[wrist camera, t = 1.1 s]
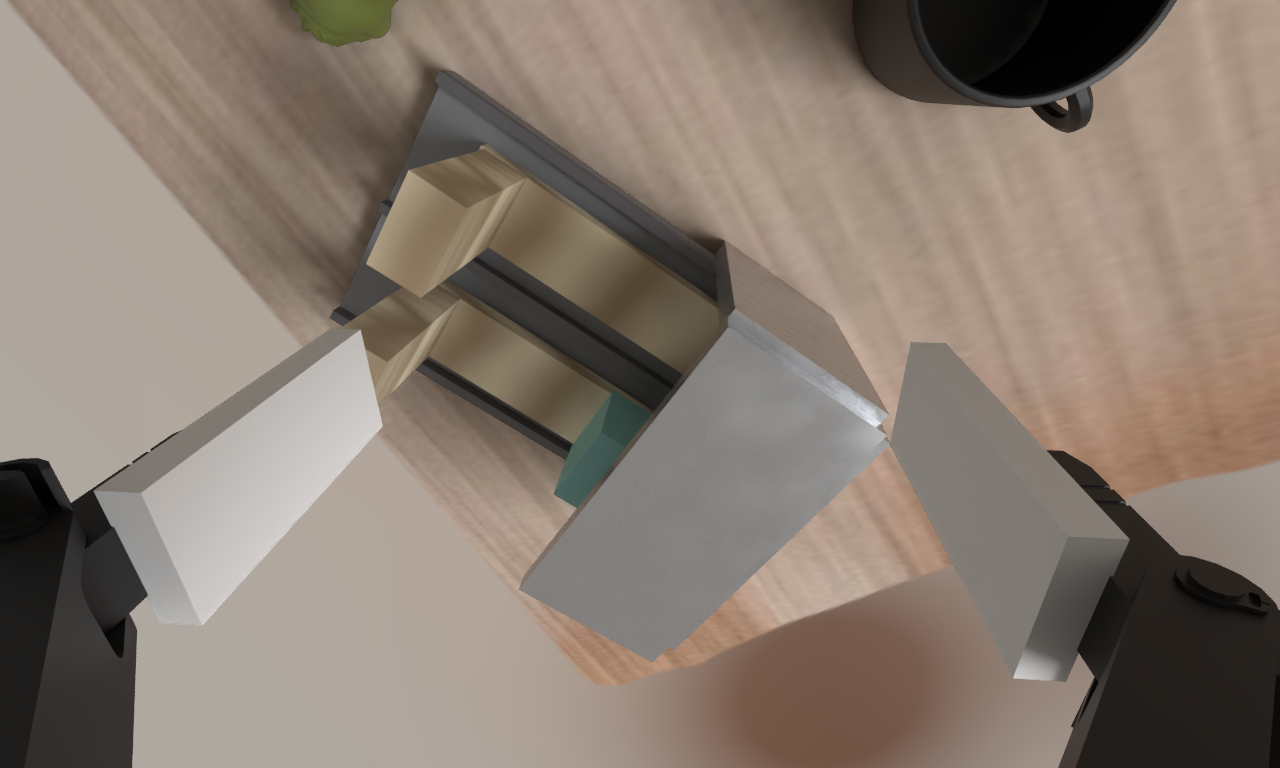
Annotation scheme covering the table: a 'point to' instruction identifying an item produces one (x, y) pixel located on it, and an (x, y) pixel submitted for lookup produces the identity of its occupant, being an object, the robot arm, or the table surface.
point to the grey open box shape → (717, 469)
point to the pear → (344, 19)
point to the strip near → (538, 251)
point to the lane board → (462, 128)
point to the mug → (1004, 50)
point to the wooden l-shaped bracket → (480, 356)
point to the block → (599, 447)
